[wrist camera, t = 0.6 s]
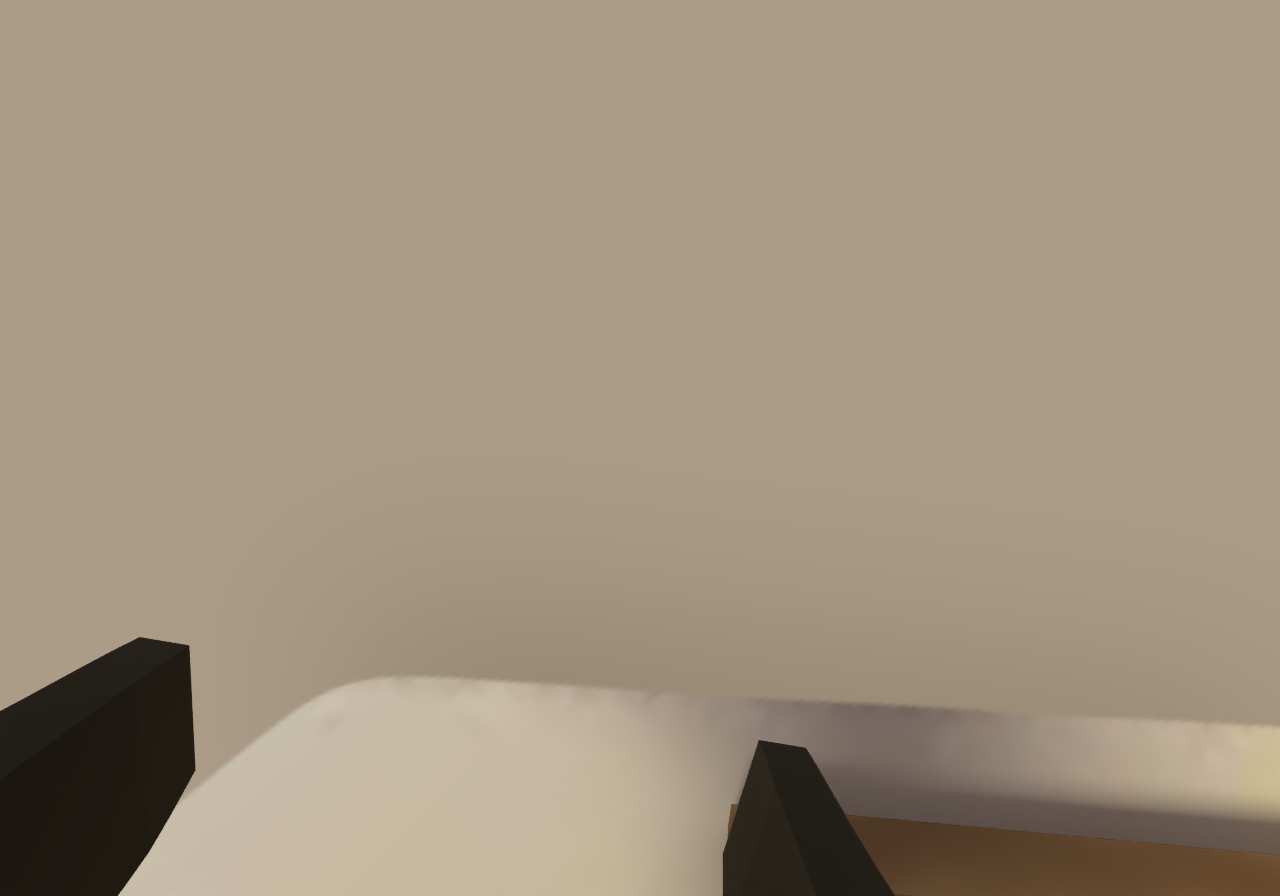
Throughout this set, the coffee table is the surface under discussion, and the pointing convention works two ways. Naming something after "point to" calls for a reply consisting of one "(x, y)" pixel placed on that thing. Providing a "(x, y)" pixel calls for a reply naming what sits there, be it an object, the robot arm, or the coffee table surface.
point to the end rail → (1051, 863)
